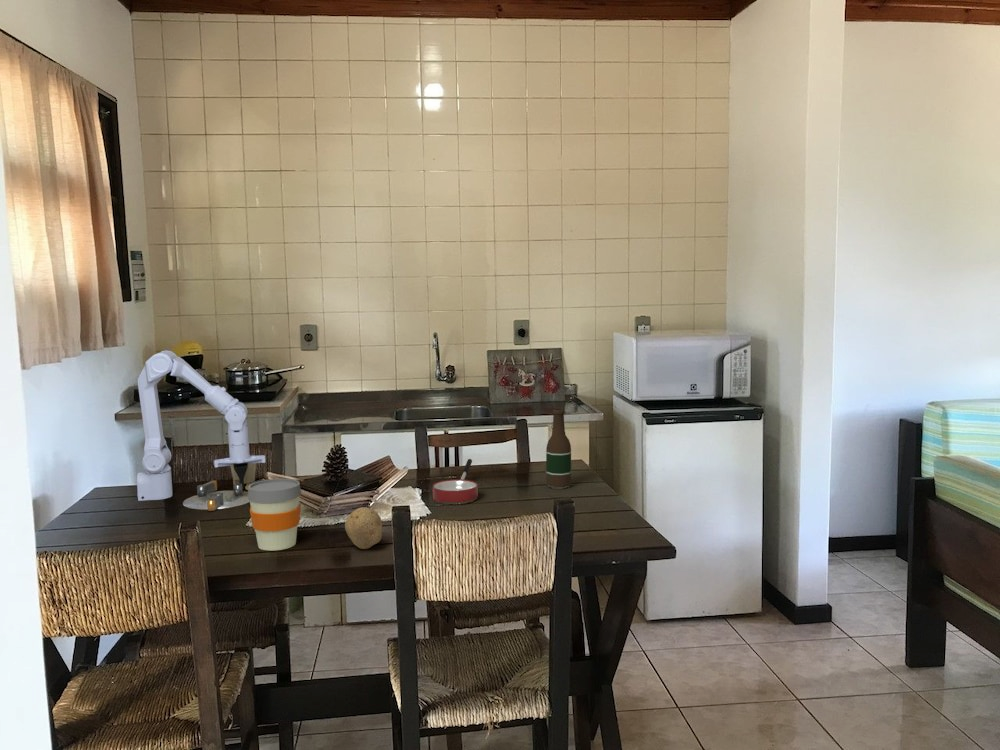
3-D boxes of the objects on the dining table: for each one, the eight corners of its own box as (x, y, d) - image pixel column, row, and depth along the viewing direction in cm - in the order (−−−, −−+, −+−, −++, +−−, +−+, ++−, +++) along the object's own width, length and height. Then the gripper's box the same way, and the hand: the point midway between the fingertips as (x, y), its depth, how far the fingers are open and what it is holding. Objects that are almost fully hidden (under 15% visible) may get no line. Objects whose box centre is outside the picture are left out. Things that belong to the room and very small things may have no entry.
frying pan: (442, 478, 268) (441, 458, 267) (482, 477, 268) (482, 458, 267) (430, 505, 236) (430, 483, 236) (476, 505, 236) (476, 483, 235)
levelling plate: (180, 516, 229) (180, 507, 229) (185, 498, 248) (184, 490, 247) (256, 509, 235) (256, 501, 234) (255, 491, 254) (254, 484, 253)
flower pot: (254, 488, 258) (253, 461, 256) (224, 489, 258) (222, 461, 257) (263, 481, 267) (262, 454, 266) (234, 481, 267) (233, 455, 266)
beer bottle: (554, 482, 261) (554, 406, 258) (576, 485, 256) (576, 408, 253) (541, 487, 254) (540, 409, 251) (563, 491, 250) (562, 412, 247)
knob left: (203, 497, 243) (202, 487, 243) (195, 496, 243) (195, 486, 243) (218, 489, 251) (218, 480, 251) (211, 489, 252) (211, 479, 251)
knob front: (216, 502, 237) (215, 492, 236) (224, 502, 237) (224, 492, 236) (205, 511, 228) (205, 500, 228) (214, 511, 228) (214, 500, 228)
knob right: (242, 494, 245) (242, 484, 244) (234, 495, 244) (233, 485, 244) (241, 488, 253) (240, 478, 252) (232, 488, 252) (232, 479, 251)
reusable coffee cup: (299, 551, 198) (296, 490, 196) (245, 554, 197) (241, 492, 195) (306, 535, 210) (304, 477, 209) (256, 537, 210) (253, 479, 208)
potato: (349, 542, 205) (348, 502, 204) (385, 541, 205) (384, 502, 204) (343, 554, 196) (341, 513, 194) (381, 553, 196) (379, 512, 195)
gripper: (212, 448, 242) (216, 494, 244) (264, 444, 246) (267, 488, 248) (213, 443, 249) (216, 488, 250) (263, 439, 253) (266, 483, 255)
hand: (241, 488), depth 250 cm, fingers closed, pressing on knob right
